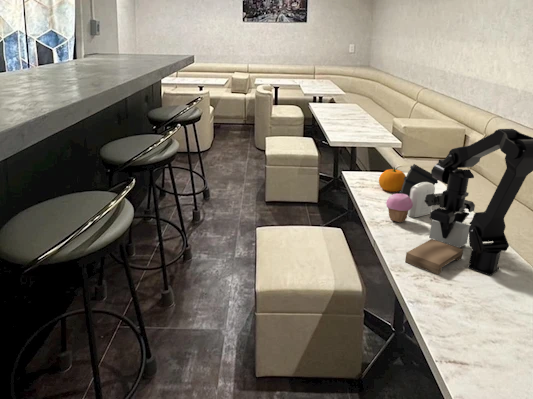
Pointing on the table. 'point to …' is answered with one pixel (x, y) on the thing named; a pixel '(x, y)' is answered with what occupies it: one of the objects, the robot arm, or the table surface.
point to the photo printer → (420, 199)
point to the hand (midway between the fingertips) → (448, 235)
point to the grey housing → (456, 235)
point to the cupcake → (399, 206)
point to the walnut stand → (433, 255)
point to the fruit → (392, 180)
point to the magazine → (416, 179)
